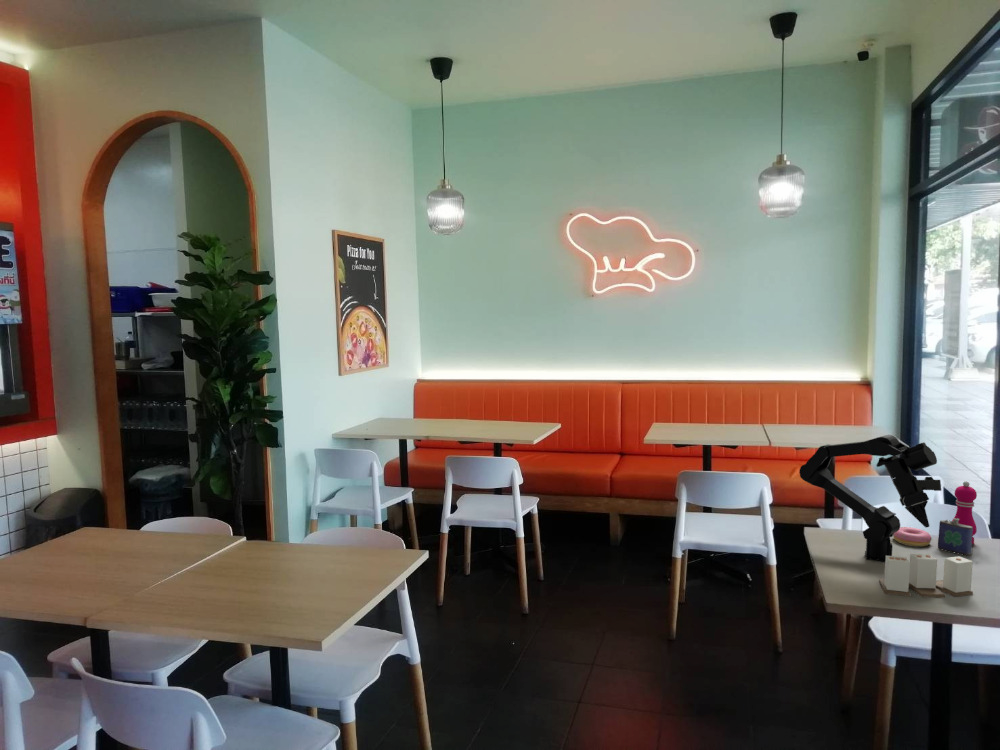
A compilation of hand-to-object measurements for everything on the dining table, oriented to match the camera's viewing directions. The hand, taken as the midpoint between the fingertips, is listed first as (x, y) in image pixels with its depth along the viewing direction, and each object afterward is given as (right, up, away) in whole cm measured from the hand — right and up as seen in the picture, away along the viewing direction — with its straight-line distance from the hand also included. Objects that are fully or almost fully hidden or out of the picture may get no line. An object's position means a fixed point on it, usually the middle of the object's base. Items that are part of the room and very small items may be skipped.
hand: (927, 527), depth 205 cm
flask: (+18, -11, +17) cm, 27 cm away
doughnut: (+10, -11, +26) cm, 30 cm away
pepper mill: (+27, -11, +26) cm, 39 cm away
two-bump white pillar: (-9, -14, -12) cm, 21 cm away
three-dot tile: (-17, -14, -14) cm, 26 cm away
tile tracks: (-8, -14, -13) cm, 21 cm away
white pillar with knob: (-1, -14, -15) cm, 21 cm away
